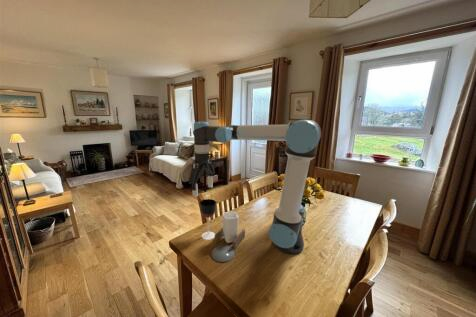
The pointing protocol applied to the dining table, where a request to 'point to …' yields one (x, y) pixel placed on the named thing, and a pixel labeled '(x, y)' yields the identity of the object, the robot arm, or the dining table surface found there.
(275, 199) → the dining table surface
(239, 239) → the rail slot
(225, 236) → the cup
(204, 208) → the wineglass
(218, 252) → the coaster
